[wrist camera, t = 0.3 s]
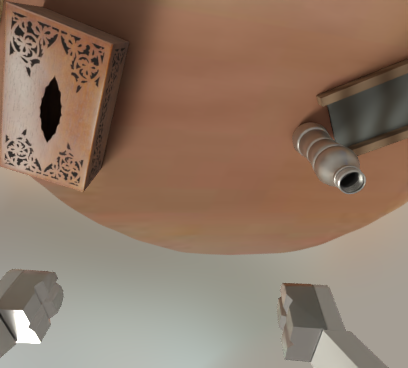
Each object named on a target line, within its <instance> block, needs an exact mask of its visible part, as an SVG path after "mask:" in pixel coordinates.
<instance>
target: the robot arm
mask: <svg viewBox="0 0 408 368" xmlns="http://www.w3.org/2000/svg"><path fill="white" fill-rule="evenodd" d="M57 279H58V277H57V275H56V273H55V272H48V271H35V270H21V269H12V270H10V271H8V272H7V273H6V274H5V275H4V276H3V278H2V279H1V280H0V358H1V357H2V356H3V355H4V354H5V353H6V352H7V351H9V350H10V349H11V348H12V347H13V346H14V345H16V342H25V343H41V341H42V339H43V338H44V336H45V334H46V332H47V331H48V329H49V327H50V325H51V323H50V318H51V317H53V316H54V315H55V314H57V313H58V311H59V309H60V307H61V305H62V301H63V290H62V287H61V286H60V285H59V284H57V283H56V281H57ZM280 292H281V297H280V298H278V304H277V316H278V323H279V327H280V328H281V329H282V330H283V333H282V337H281V342H282V348H283V353H284V359H286V360H295V361H305V362H311V364H312V366H313V367H314V368H388V367H387V366H386V365H385V364H384V363H383V362H382V361H381V360H380V359H379V358H378V357H377V356H376V355H375V354H374V353H373V352H372V351H371V350H370V349H368V348H367V347H366V346H365V345H364V344H363V343H362V342H361V341H360V340H359V339H358V338H357V337H356V336H355V335H354V334H353V333H352V332H350V331H346V330H345V327H344V325H343V322H342V319H341V317H340V314H339V311H338V309H337V306H336V303H335V301H334V298H333V295H332V293H331V290H330V288H329V287H328V286H327V285H311V284H294V283H282V285H281V289H280Z"/></svg>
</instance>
